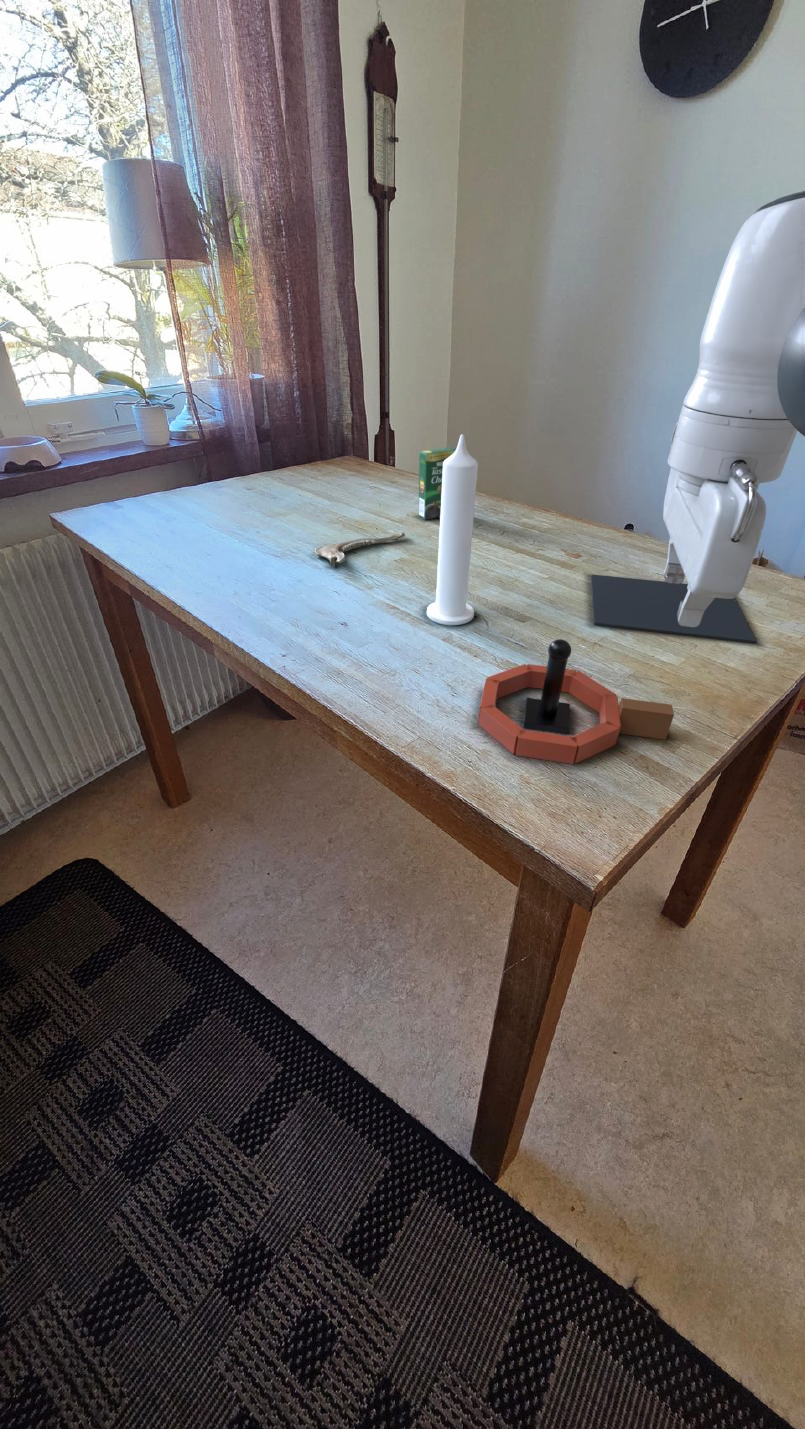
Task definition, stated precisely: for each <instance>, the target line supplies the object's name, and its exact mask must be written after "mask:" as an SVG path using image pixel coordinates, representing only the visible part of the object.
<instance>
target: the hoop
mask: <svg viewBox="0 0 805 1429" xmlns="http://www.w3.org/2000/svg"><path fill="white" fill-rule="evenodd" d="M546 669H547V665H539V664H531V663H527V664H526V663H524V664H521V665H518V666H515V667H513V668H509V669H507V670H503V671H502V672H498V673H496V674H493V675H490V676H486V678H485V681H484V685H483V689H482V694H481V699H480V703H479V711H478V719H477V724H478V726H479V727H480V728H482V730H484V731H485V732H486V733H487V734H488V735H490V737H492V738H493V739H494V740H496V741H497V742H498V743H499V744H500V745H502V747H503V748H505V749H506V750H507V751H509V752H510V753H511V754H512V755H515V756H516V757H517V756H518V757H525V758H531V759H537V760H543V761H551V762H557V763H562V764H563V763H564V764H570V765H573V764H575V765H576V764H578V763H580V762H582V761H585V760H587V759H588V758H591V757H593V756H595V755H597V754H599V753H601V752H604V751H605V750H608V749H610V748H612V747H614V746H615V745H617V743H618V742H617V741H618V739H619V735H620V734H622V735H627V736H628V735H629V736H634V737H635V736H636V737H642V738H648V739H649V738H650V739H656V740H663V741H665V740H666V739H667V736H668V734H669V731H670V728H671V726H672V722H673V719H674V718H675V717H674V716H675V712H674V709H673V704H669V703H661V702H654V701H647V700H640V699H631V698H625V697H621V698H620V699H619V697H618V695H617V694H616V693H615V692H614V691H612V690H610V689H608V688H607V687H605V686H604V685H602V684H600V683H599V682H597V681H596V680H594V679H593V678H591V677H589V676H588V675H586V674H585V673H583V672H581V671H580V670H576V669H571V668H566V670H565V675H564V680H563V685H562V690H561V693H563V692H564V693H569V694H570V695H571V696H573V697H575V698H576V699H577V700H579V701H581V702H582V703H584V704H585V705H586V706H588V707H590V708H591V709H592V710H594V711H595V712H597V713H598V714H599V724H598V725H595V726H593V727H591V728H589V729H587V730H584V731H582V732H580V733H578V734H575V735H573V736H571V735H565V734H558V733H549V732H544V731H543V732H542V731H538V730H529V729H524V727H521V726H520V724H518V723H517V722H515V721H514V720H513V719H511V717H509V716H508V715H506V714H505V713H504V712H502V711H501V710H500V709H499V708H497V707H496V705H497V699H500V698H503V697H504V696H508V695H510V694H513V693H516V692H518V691H521V690H524V689H526V688H531V689H532V688H534V689H541V690H543V686H544V680H545V675H546Z"/></svg>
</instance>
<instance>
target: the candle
mask: <svg viewBox="0 0 805 1429" xmlns="http://www.w3.org/2000/svg"><path fill="white" fill-rule="evenodd" d="M456 448H457V449H456V451H455V452H454V453H453V454H452V455H451V456H450V457H448V458H447V459H445V460H444V462H443V474H442V493H441V512H440V517H439V531H438V532H439V533H438V550H437V551H438V553H437V571H436V572H437V574H436V589H435V590H436V593H435V601H433V602H431V603H430V604H429V605H428V606H427V608H426V616H427V617H428V618H429V620H430V621H432V622H434V623H437V624H440V625H444V626H445V625H446V626H459V625H464V624H467V623H469V622H471V621H472V620H473V619H474V616H475V610H474V608H473V606H472V605H470V604H469V603H467V601H468V587H469V578H470V564H471V552H472V540H473V539H472V538H473V529H474V519H475V518H474V516H475V506H476V505H475V503H476V494H477V483H478V470H479V462H478V460H476V459H475V458H474V457H473V456H472V455H471V454H470V453H469V452H468V449H467V444H466V436H465V434H463V433H462V434H460V436H459V440H458V443H457V446H456Z"/></svg>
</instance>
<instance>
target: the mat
mask: <svg viewBox="0 0 805 1429" xmlns="http://www.w3.org/2000/svg"><path fill="white" fill-rule="evenodd" d="M590 582H591V599H592V613H593V616H592V617H593V625H594V626H601V627H609V628H617V629H626V630H634V631H644V632H652V633H653V632H654V633H660V634H669V635H679V636H688V637H696V638H706V639H712V640H713V639H715V640H722V641H723V640H724V641H731V642H739V643H748V644H756V642H757V640H756V638H755V636H754V634H753V632H752V630H751V628H750V626H749V624H748V622H747V620H746V618H745V616H744V614H743V612H742V610H741V608H740V606H739V604H738V602H737V600H736V597H734V598H732V599H726V598H715V599H714V600H713V601H712V602H711V604H710V605H709V606H708V607H707V609H706V610H705V611H704V613H703V616H702V619H701V622H700V624H699V625H698V626H697V627H686V626H681V625H680V624H679V622H678V619H677V612H678V609H679V605H680V602H681V601H684V599H685V596H686V594H687V592H688V589H687V586H688V583H683V582H682V583H681V584H674V583H667V582H666V581H660V580H652V579H651V580H650V579H640V578H632V577H622V576H613V575H600V574H591V575H590Z"/></svg>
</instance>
